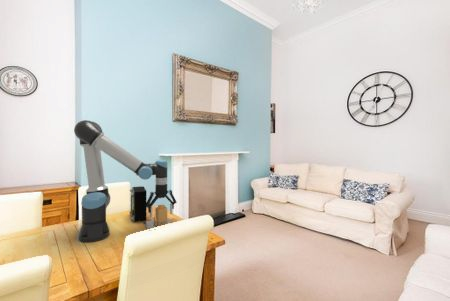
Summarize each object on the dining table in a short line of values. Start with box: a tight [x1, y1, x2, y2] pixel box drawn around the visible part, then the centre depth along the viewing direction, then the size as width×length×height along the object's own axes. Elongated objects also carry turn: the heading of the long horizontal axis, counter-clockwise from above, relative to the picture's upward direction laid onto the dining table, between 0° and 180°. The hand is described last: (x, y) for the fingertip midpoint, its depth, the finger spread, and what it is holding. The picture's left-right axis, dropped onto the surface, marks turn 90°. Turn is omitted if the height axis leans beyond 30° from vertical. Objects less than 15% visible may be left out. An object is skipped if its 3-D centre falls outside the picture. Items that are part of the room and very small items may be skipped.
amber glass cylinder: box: [153, 216, 157, 226], centre depth 144 cm, size 2×2×5 cm
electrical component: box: [129, 186, 147, 223], centre depth 160 cm, size 18×10×20 cm, turn 25°
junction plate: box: [142, 217, 174, 230], centre depth 149 cm, size 16×14×1 cm
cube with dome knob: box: [154, 204, 168, 223], centre depth 153 cm, size 6×6×10 cm
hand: (161, 215), depth 153 cm, fingers open, 13 cm apart
